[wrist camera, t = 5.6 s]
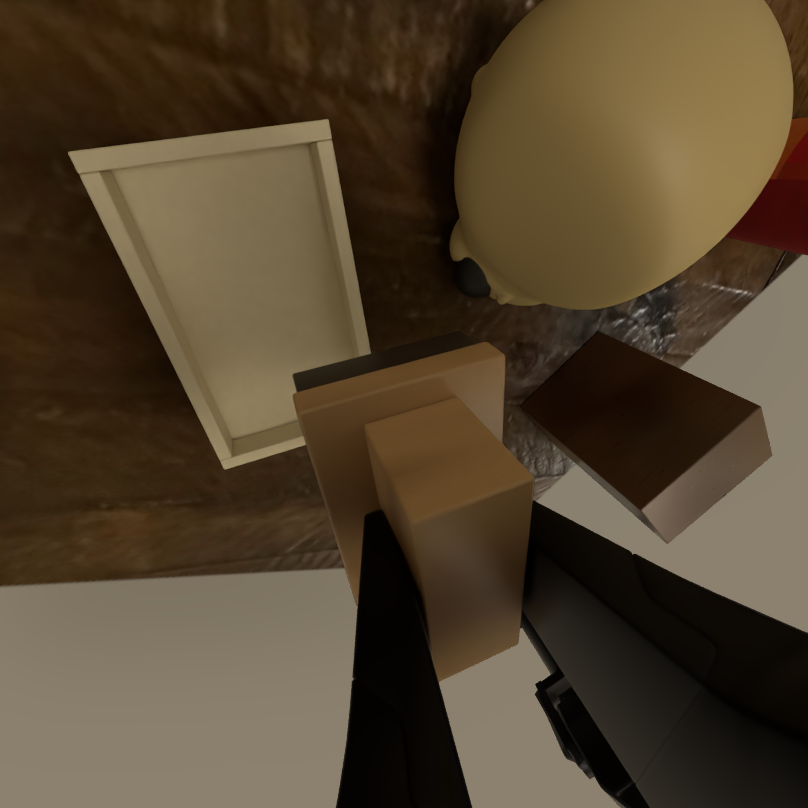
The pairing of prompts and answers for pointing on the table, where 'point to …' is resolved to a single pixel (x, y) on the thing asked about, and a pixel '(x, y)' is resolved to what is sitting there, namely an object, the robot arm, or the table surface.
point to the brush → (427, 483)
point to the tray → (236, 268)
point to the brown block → (650, 432)
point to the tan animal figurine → (615, 146)
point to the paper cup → (782, 200)
